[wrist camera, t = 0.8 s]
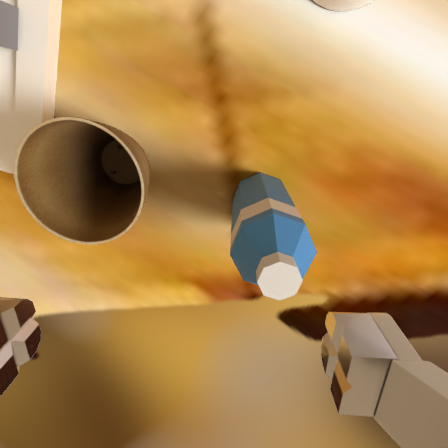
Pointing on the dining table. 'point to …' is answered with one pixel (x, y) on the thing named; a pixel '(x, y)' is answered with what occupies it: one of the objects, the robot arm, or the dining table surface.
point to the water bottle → (269, 237)
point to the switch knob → (8, 26)
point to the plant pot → (81, 179)
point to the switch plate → (28, 75)
